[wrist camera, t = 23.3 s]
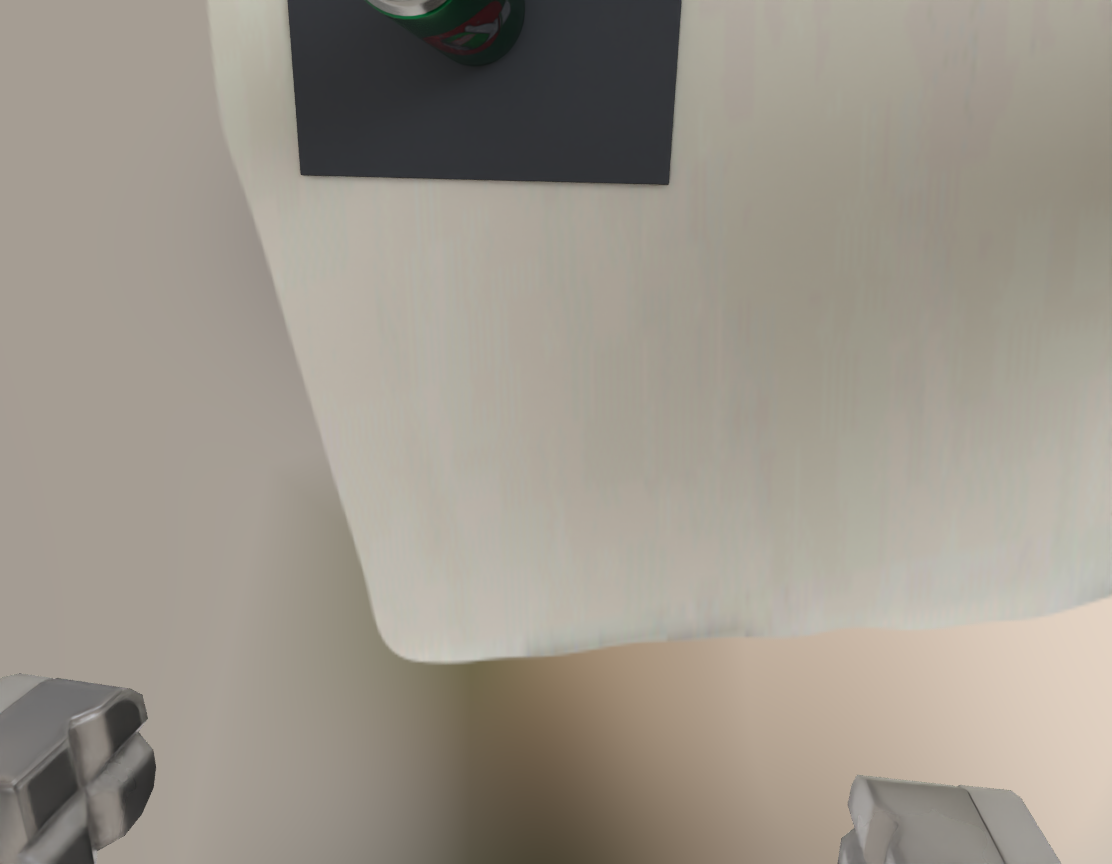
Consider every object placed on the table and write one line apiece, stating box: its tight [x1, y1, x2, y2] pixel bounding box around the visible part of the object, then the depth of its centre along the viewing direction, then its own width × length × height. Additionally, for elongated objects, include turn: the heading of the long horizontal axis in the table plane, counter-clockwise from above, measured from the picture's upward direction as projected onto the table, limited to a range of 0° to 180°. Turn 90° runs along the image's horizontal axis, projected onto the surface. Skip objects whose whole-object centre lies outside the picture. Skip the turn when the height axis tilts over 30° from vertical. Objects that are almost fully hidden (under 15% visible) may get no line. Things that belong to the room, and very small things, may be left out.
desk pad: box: [288, 0, 681, 185], centre depth 37 cm, size 20×16×1 cm
